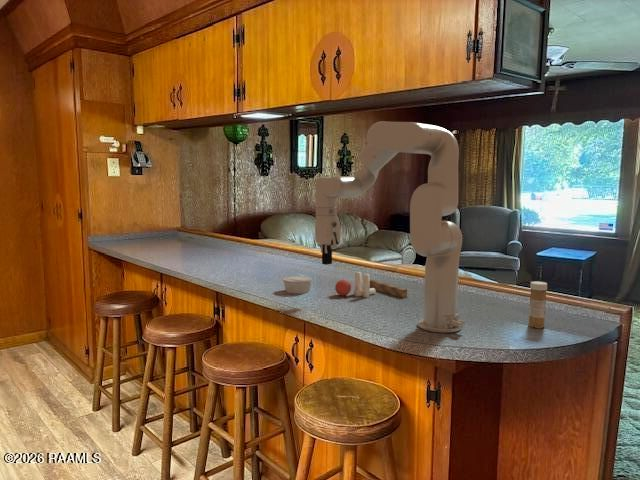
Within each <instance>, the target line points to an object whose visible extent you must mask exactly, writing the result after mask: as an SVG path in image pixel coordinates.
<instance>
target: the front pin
mask: <svg viewBox="0 0 640 480" xmlns="http://www.w3.org/2000/svg"><path fill="white" fill-rule="evenodd" d="M376 292H377V290H375V288H369V296H371V295H376V294H377V293H376ZM353 295H354V297H355V298H357V297H363V288H361V290H355V289H354V291H353Z"/></svg>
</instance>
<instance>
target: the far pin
mask: <svg viewBox="0 0 640 480" xmlns="http://www.w3.org/2000/svg"><path fill="white" fill-rule="evenodd" d="M355 290H362V271H355V272H354V291H355Z"/></svg>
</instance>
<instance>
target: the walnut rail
mask: <svg viewBox="0 0 640 480" xmlns="http://www.w3.org/2000/svg"><path fill="white" fill-rule="evenodd" d="M369 288H375V290H376V291H378V292H383V293H386V294H389V295H392V296H395V297H398V298H403V299H404V298H407V297H408V289H407V288H402V287H399V286H396V285H392V284H388V283H385V282H382V281H379V280H374V279H372V278H370V285H369Z"/></svg>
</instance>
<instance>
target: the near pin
mask: <svg viewBox="0 0 640 480" xmlns="http://www.w3.org/2000/svg"><path fill="white" fill-rule="evenodd" d="M370 276H371V275H370V274H369V273H364V274H363V275H362V289H363V296H362V298H370V295H369V285H370V279H371V278H370Z"/></svg>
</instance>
